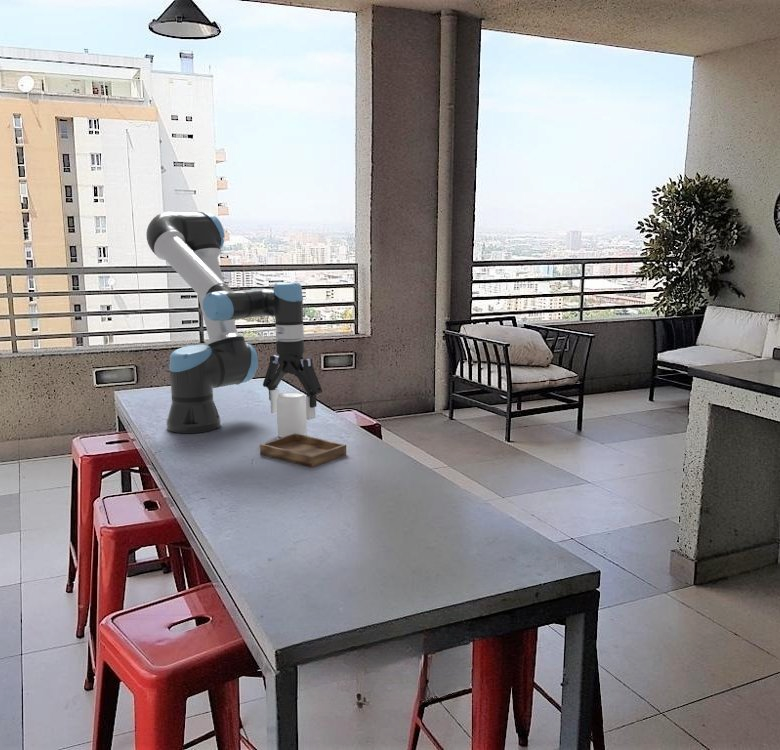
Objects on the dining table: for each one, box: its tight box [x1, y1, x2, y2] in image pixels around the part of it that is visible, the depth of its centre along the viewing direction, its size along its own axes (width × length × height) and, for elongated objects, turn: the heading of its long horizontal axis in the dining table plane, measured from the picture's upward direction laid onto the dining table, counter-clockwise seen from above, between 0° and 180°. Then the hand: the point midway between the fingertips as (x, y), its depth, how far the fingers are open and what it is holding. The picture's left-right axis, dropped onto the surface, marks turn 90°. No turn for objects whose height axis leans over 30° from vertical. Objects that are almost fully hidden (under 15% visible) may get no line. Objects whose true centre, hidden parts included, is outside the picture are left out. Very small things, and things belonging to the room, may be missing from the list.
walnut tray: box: [259, 434, 347, 468], centre depth 190 cm, size 18×13×3 cm
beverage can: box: [276, 391, 308, 438], centre depth 206 cm, size 8×8×12 cm
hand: (292, 415), depth 205 cm, fingers open, 13 cm apart
